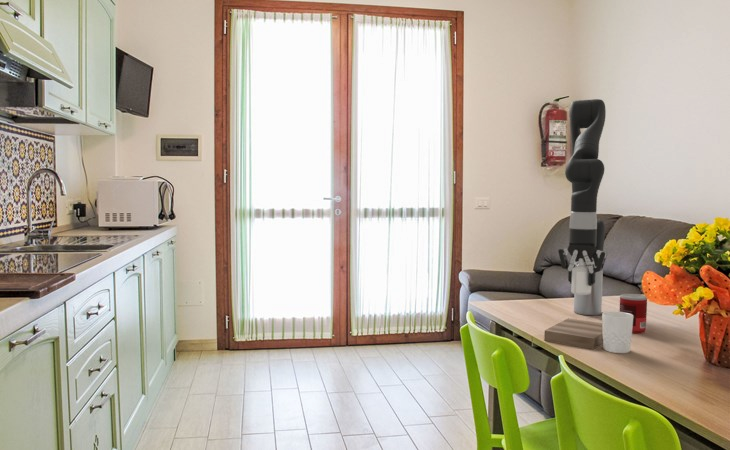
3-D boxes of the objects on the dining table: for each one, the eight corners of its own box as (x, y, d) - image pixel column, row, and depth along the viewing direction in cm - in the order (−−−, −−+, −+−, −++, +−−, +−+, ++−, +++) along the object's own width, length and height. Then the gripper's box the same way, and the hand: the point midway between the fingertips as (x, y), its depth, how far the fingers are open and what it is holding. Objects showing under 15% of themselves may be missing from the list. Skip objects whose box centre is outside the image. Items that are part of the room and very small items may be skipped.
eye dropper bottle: (592, 295, 166) (593, 254, 166) (571, 294, 168) (572, 254, 167) (590, 293, 171) (591, 253, 170) (570, 292, 172) (571, 252, 171)
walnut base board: (567, 327, 182) (568, 318, 182) (614, 334, 173) (614, 324, 173) (544, 340, 167) (544, 330, 166) (593, 349, 158) (594, 338, 158)
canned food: (644, 328, 181) (645, 294, 180) (647, 334, 174) (648, 299, 173) (617, 326, 184) (618, 292, 183) (620, 332, 176) (621, 297, 175)
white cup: (596, 345, 161) (597, 311, 160) (624, 346, 161) (626, 311, 160) (607, 354, 153) (608, 317, 153) (637, 354, 153) (638, 317, 152)
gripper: (612, 227, 166) (610, 285, 168) (563, 225, 175) (561, 280, 176) (604, 229, 161) (602, 289, 162) (554, 226, 169) (552, 283, 171)
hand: (581, 284), depth 169 cm, fingers closed on eye dropper bottle, 4 cm apart
